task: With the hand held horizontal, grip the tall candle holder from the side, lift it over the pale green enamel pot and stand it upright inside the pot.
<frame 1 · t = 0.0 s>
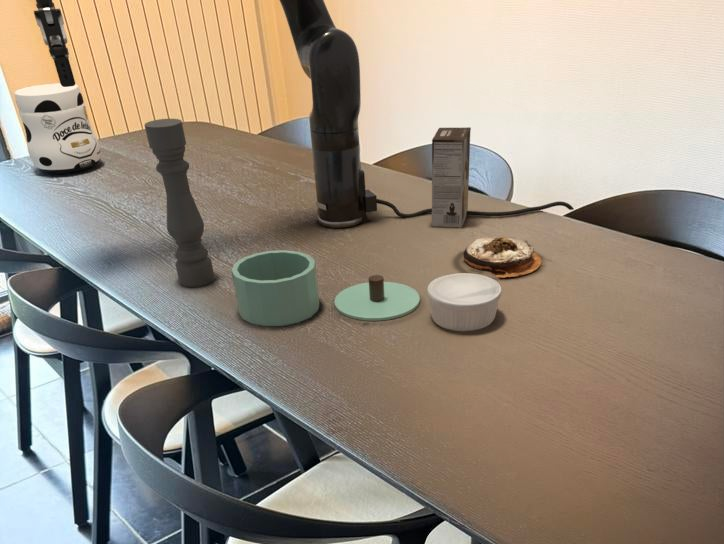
hand: (67, 81, 115), 29 cm above the table, tool pointing down, fingers open, 8 cm apart
cream topped cake: (498, 263, 127), on the table
pot lid: (377, 301, 114), point 1 cm above the table
ramekin: (463, 321, 110), on the table
candle holder: (197, 281, 126), on the table
coffee box: (449, 220, 144), on the table
pot: (280, 311, 114), on the table
doce de leite jar: (70, 169, 185), on the table
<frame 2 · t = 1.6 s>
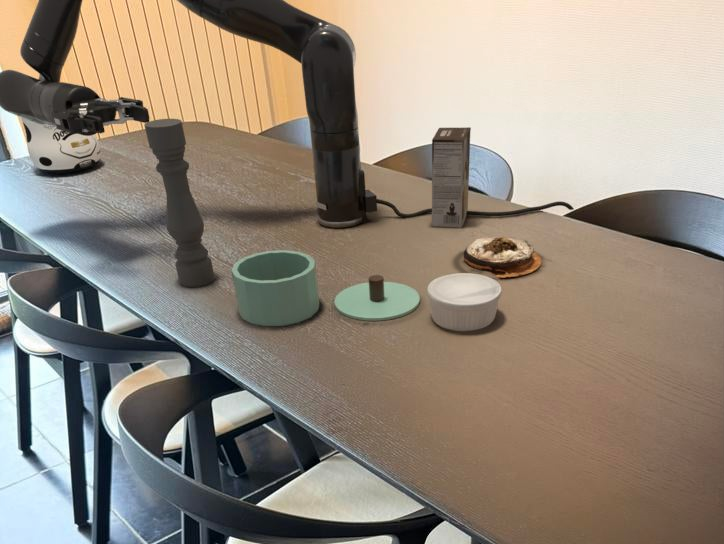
hand: (124, 120, 115), 24 cm above the table, tool horizontal, fingers open, 8 cm apart
nothing on the table moved.
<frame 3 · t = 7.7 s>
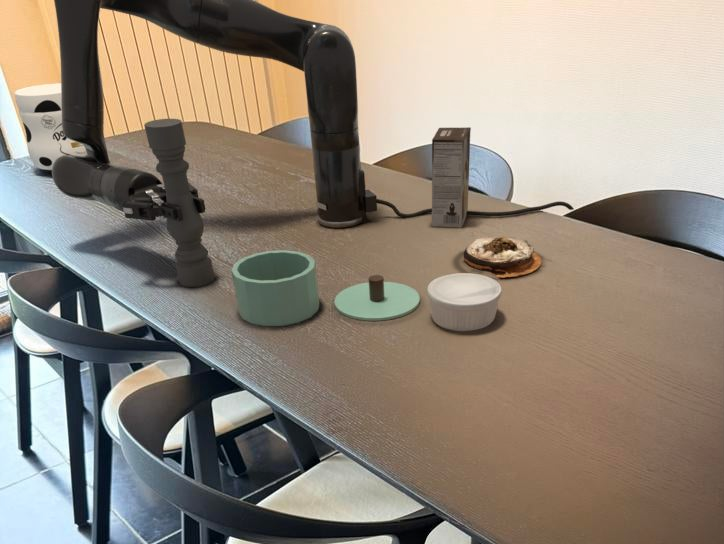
hand: (191, 210, 116), 13 cm above the table, tool horizontal, fingers closed on candle holder, 4 cm apart
candle holder: (197, 281, 126), on the table, touching gripper
everything else where it was.
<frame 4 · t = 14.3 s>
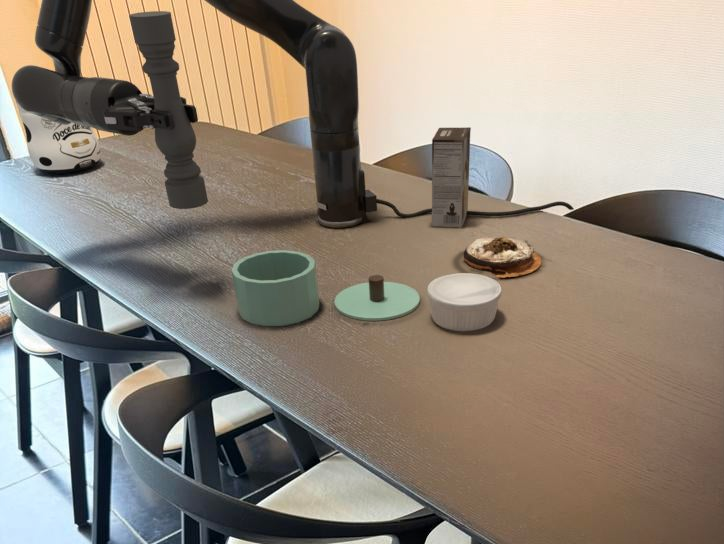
hand: (183, 117, 104), 27 cm above the table, tool horizontal, fingers closed on candle holder, 4 cm apart
candle holder: (189, 203, 114), point 14 cm above the table, touching gripper
everything else where it was.
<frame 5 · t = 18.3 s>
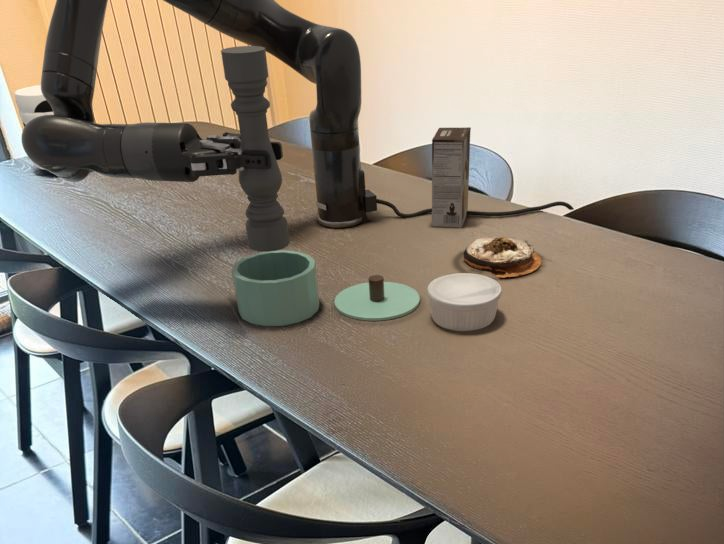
hand: (275, 155, 99), 23 cm above the table, tool horizontal, fingers closed on candle holder, 4 cm apart
candle holder: (269, 245, 108), point 11 cm above the table, touching gripper
everything else where it was.
when the fingers open (13 cm above the table, at t = 21.4 s): candle holder stays where it is, resting on pot.
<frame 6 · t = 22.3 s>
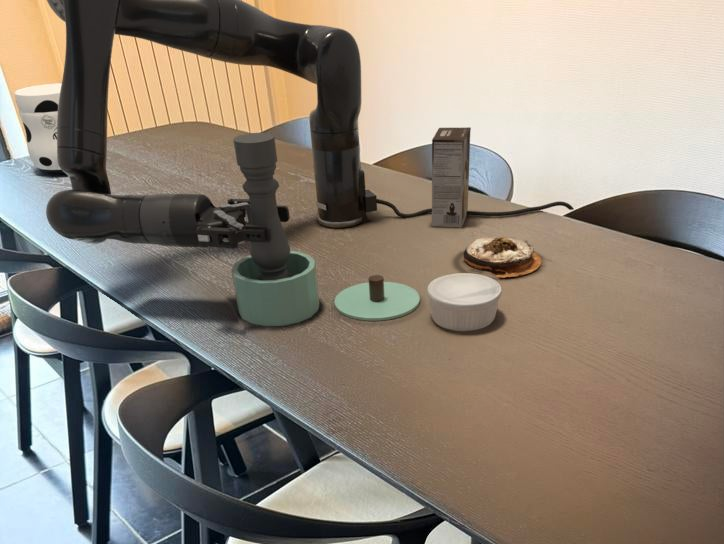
hand: (279, 223, 105), 14 cm above the table, tool horizontal, fingers open, 8 cm apart
candle holder: (278, 309, 114), resting on pot
everything else where it was.
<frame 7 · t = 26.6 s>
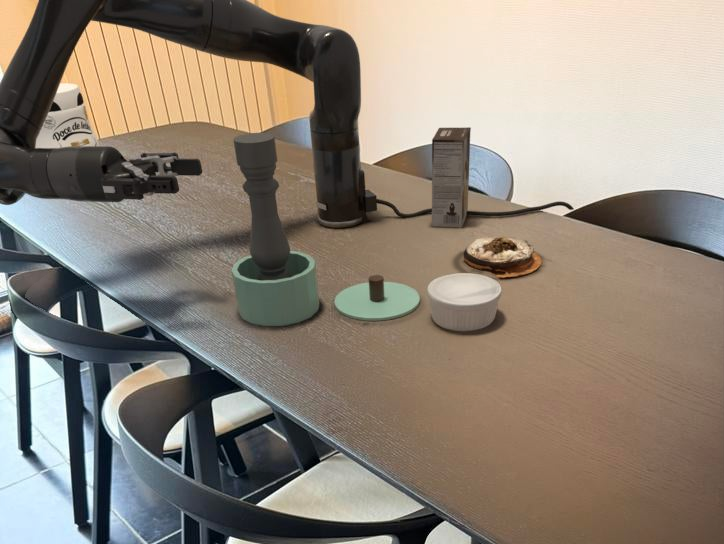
hand: (189, 175, 103), 20 cm above the table, tool horizontal, fingers open, 8 cm apart
nothing on the table moved.
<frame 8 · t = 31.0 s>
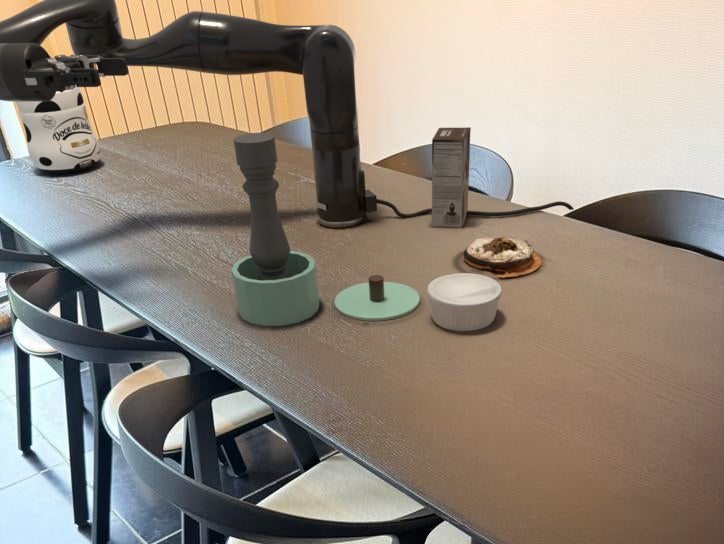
hand: (112, 72, 105), 32 cm above the table, tool horizontal, fingers open, 8 cm apart
nothing on the table moved.
at the end: candle holder 0.2 cm off-centre in the pot, point 0.3 cm above the pot's base; candle holder tilted 0°; the gripper is holding nothing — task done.
